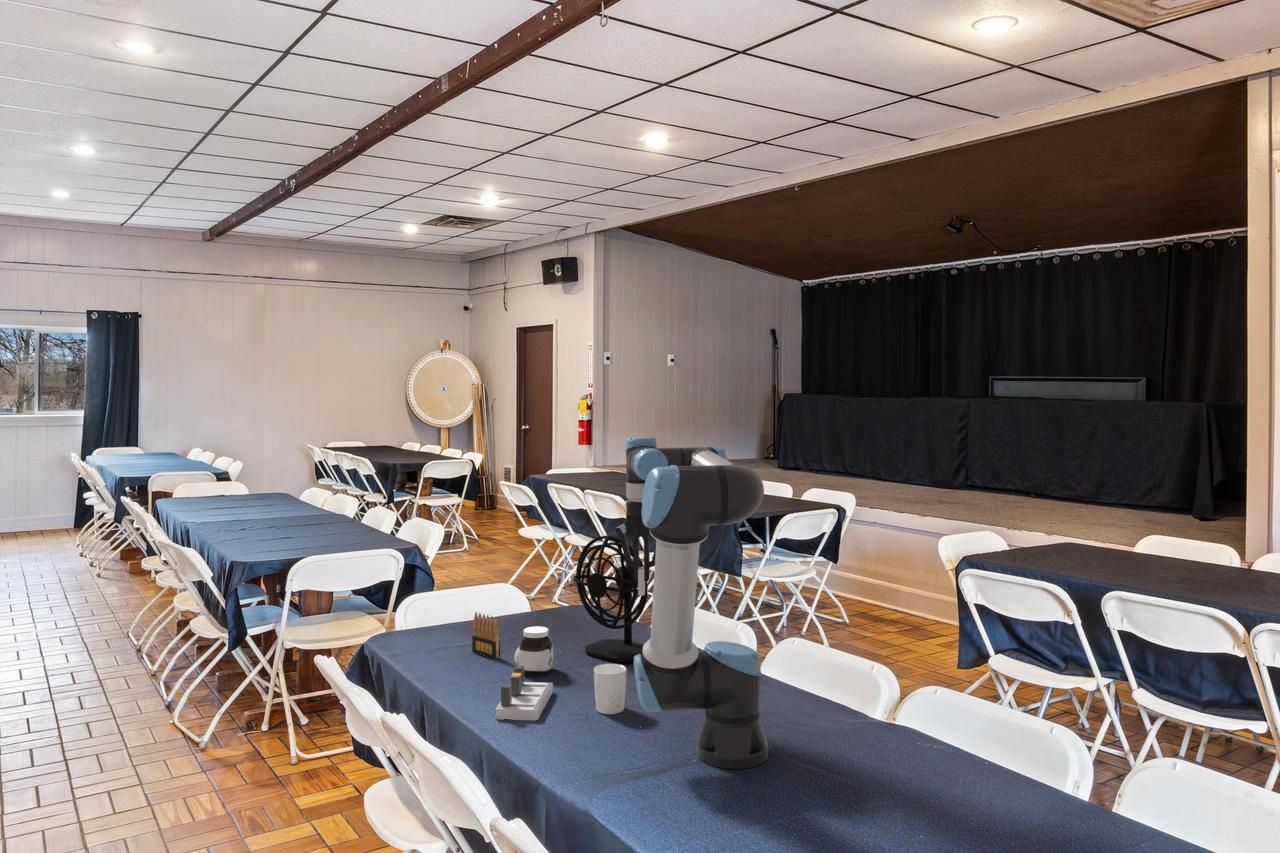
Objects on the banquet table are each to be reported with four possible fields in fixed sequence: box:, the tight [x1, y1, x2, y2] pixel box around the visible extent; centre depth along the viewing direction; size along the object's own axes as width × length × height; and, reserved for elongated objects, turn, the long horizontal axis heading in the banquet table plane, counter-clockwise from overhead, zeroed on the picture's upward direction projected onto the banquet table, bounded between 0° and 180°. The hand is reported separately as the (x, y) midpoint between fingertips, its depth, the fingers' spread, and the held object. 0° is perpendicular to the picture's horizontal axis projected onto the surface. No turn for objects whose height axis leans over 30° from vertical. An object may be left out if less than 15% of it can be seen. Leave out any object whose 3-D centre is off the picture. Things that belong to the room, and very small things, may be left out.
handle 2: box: [513, 664, 525, 686], centre depth 227 cm, size 2×2×4 cm
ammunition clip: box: [471, 611, 501, 660], centre depth 261 cm, size 11×2×12 cm, turn 49°
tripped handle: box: [510, 672, 522, 696], centre depth 220 cm, size 2×2×5 cm
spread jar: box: [513, 626, 554, 677], centre depth 247 cm, size 12×11×12 cm
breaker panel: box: [495, 681, 554, 721], centre depth 220 cm, size 19×10×3 cm, turn 175°
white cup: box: [593, 663, 627, 715], centre depth 217 cm, size 8×8×10 cm
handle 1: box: [500, 683, 512, 706], centre depth 213 cm, size 2×2×4 cm
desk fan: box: [573, 535, 649, 663], centre depth 261 cm, size 27×18×35 cm, turn 50°
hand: (641, 593), depth 224 cm, fingers closed
